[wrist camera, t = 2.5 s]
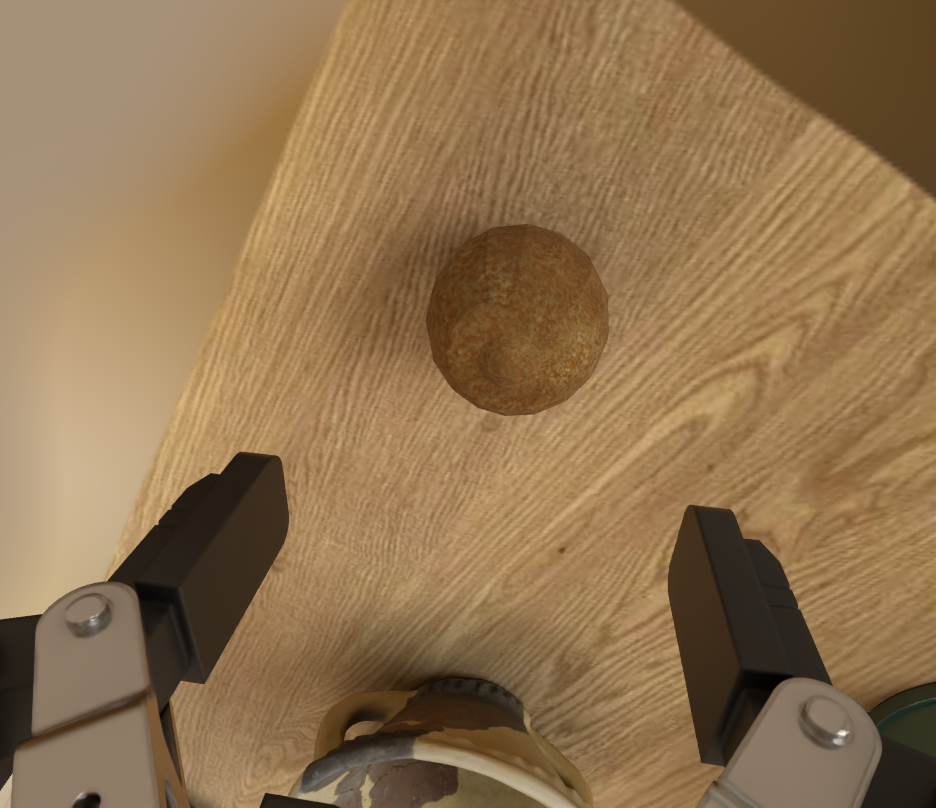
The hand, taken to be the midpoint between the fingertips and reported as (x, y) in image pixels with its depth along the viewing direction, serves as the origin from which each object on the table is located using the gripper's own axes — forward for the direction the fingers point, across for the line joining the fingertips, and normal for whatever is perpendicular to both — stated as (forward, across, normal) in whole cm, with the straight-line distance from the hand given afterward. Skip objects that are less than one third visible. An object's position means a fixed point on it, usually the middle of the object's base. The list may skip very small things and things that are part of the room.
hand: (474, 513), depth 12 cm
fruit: (+15, 0, 0) cm, 15 cm away
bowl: (+15, +1, +28) cm, 32 cm away
